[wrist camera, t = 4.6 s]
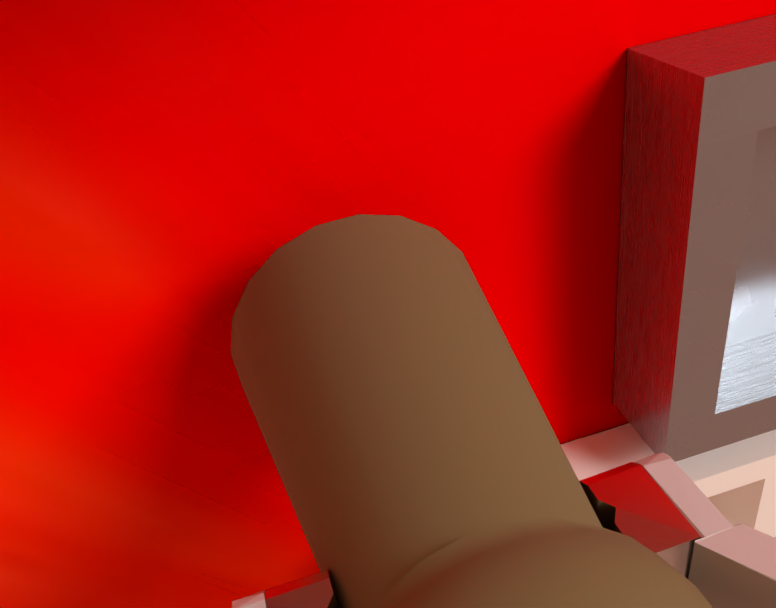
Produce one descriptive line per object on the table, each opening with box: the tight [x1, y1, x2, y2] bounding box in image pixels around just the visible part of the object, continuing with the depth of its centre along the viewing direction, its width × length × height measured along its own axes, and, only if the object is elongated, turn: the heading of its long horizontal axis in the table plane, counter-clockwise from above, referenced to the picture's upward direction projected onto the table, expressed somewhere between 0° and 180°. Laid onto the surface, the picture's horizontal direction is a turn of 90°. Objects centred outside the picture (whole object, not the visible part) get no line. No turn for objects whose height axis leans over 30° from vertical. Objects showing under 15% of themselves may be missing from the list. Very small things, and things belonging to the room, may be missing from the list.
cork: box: [231, 214, 713, 608], centre depth 12 cm, size 6×6×11 cm
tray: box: [561, 423, 776, 538], centre depth 26 cm, size 14×14×3 cm
